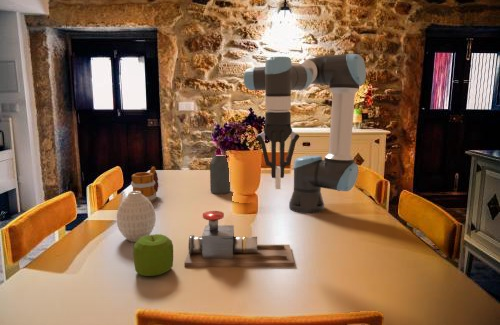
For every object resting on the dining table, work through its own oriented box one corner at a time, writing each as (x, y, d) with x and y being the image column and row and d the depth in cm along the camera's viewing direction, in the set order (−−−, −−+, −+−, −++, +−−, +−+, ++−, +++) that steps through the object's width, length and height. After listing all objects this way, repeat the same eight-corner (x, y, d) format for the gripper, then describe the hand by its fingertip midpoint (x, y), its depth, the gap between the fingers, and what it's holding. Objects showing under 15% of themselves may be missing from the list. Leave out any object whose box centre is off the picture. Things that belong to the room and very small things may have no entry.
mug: (126, 203, 169) (124, 171, 166) (148, 194, 184) (147, 164, 181) (145, 205, 165) (144, 173, 162) (167, 196, 180) (165, 166, 177)
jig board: (289, 248, 120) (289, 241, 119) (294, 266, 107) (294, 259, 107) (191, 248, 120) (191, 241, 119) (184, 266, 107) (184, 259, 107)
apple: (153, 285, 97) (151, 246, 95) (125, 274, 102) (123, 237, 100) (182, 268, 106) (180, 232, 104) (155, 259, 111) (153, 225, 109)
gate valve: (234, 247, 117) (233, 209, 115) (232, 260, 109) (232, 219, 106) (192, 247, 117) (191, 209, 115) (188, 260, 109) (186, 219, 106)
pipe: (256, 249, 116) (256, 233, 115) (257, 256, 111) (257, 240, 110) (225, 249, 116) (224, 233, 115) (224, 256, 111) (223, 240, 110)
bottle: (233, 192, 186) (233, 133, 181) (217, 195, 181) (216, 135, 175) (223, 188, 195) (222, 131, 189) (207, 191, 189) (206, 133, 184)
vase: (121, 248, 119) (117, 199, 116) (115, 235, 130) (112, 190, 127) (160, 241, 125) (158, 194, 122) (152, 229, 136) (149, 185, 133)
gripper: (298, 109, 112) (296, 184, 117) (255, 110, 112) (256, 185, 117) (301, 111, 105) (300, 190, 110) (256, 112, 105) (257, 191, 109)
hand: (277, 187), depth 113 cm, fingers closed
